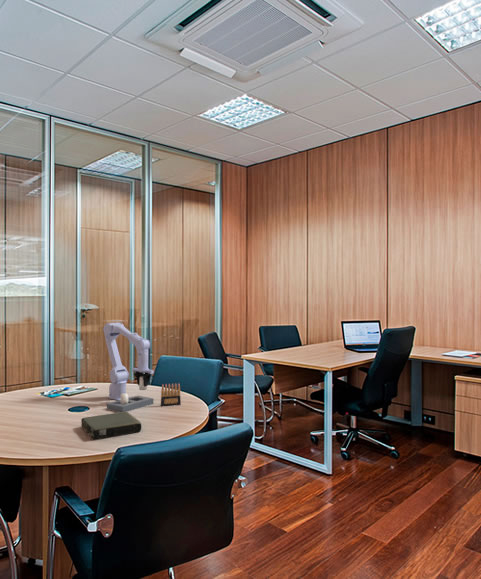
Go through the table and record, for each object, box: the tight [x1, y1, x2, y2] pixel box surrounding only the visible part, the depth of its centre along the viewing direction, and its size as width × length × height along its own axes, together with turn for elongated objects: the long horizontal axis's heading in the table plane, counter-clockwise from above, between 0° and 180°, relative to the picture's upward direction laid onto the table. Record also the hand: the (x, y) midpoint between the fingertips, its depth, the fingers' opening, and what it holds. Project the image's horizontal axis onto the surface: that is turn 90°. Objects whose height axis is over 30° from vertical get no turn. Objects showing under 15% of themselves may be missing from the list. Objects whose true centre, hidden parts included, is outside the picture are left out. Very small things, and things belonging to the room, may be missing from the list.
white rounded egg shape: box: [138, 376, 148, 391], centre depth 243 cm, size 4×4×7 cm
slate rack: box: [106, 392, 154, 413], centre depth 235 cm, size 12×22×8 cm, turn 147°
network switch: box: [80, 411, 142, 441], centre depth 194 cm, size 23×23×5 cm
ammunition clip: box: [160, 382, 182, 407], centre depth 238 cm, size 11×2×12 cm, turn 109°
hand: (142, 385), depth 243 cm, fingers closed on white rounded egg shape, 4 cm apart
